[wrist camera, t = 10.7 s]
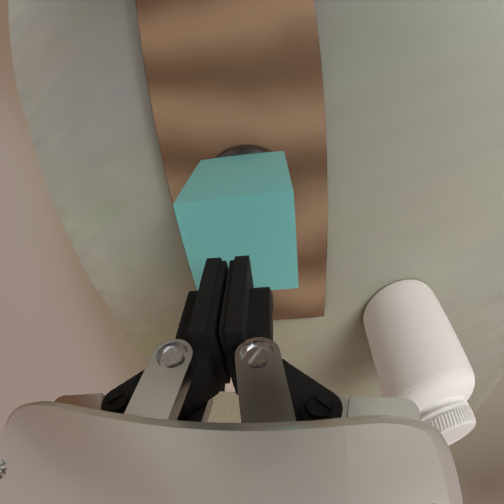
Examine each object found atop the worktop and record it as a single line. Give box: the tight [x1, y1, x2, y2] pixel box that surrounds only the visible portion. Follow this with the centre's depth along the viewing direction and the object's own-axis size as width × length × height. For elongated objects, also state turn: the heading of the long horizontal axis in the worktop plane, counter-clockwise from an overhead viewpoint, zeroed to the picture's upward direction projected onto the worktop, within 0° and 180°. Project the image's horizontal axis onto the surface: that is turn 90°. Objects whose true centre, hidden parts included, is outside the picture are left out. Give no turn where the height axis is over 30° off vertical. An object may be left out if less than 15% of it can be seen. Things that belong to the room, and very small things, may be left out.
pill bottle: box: [363, 279, 476, 445], centre depth 22 cm, size 8×8×15 cm
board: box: [136, 0, 327, 320], centre depth 20 cm, size 30×11×1 cm, turn 6°
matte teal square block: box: [173, 151, 299, 291], centre depth 17 cm, size 5×5×7 cm
